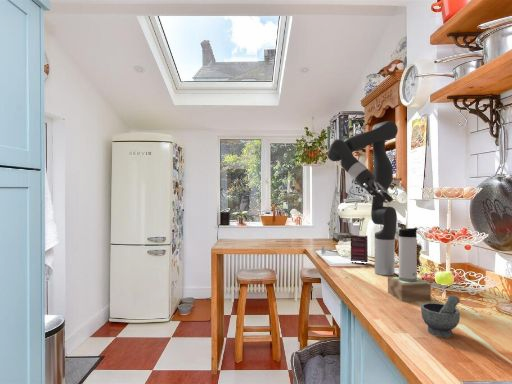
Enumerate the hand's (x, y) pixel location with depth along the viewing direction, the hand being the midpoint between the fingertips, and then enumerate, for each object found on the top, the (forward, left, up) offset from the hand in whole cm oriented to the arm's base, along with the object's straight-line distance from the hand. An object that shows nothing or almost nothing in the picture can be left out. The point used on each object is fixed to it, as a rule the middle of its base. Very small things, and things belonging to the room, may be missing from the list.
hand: (387, 201), depth 137 cm
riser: (+10, +3, -36) cm, 38 cm away
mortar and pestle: (+44, -6, -37) cm, 58 cm away
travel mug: (+10, +3, -30) cm, 32 cm away
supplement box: (-51, +8, -37) cm, 63 cm away
